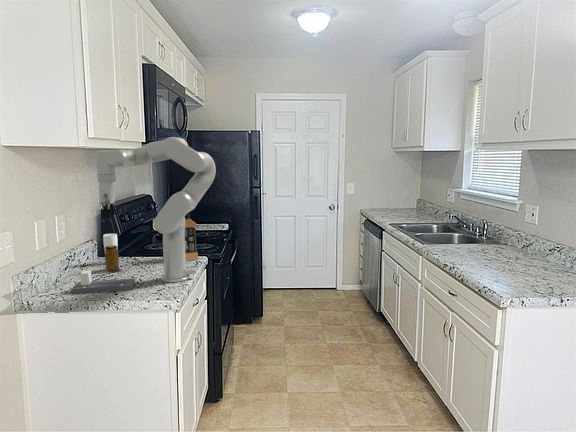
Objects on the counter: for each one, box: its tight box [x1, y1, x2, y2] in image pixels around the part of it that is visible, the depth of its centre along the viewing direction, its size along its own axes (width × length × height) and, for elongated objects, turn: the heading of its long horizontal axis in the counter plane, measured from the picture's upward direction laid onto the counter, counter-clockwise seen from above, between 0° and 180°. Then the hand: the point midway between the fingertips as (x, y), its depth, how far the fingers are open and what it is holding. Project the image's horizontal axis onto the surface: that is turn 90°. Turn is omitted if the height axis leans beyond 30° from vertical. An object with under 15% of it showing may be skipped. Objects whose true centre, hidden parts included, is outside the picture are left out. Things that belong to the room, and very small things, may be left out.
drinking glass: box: [102, 233, 119, 253], centre depth 216 cm, size 7×7×15 cm
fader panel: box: [70, 278, 136, 295], centre depth 176 cm, size 23×10×2 cm, turn 102°
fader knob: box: [79, 270, 93, 286], centre depth 174 cm, size 3×4×5 cm
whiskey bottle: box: [184, 211, 199, 262], centre depth 224 cm, size 10×10×32 cm
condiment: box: [103, 245, 126, 273], centre depth 203 cm, size 7×8×12 cm
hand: (109, 216), depth 187 cm, fingers open, 9 cm apart
